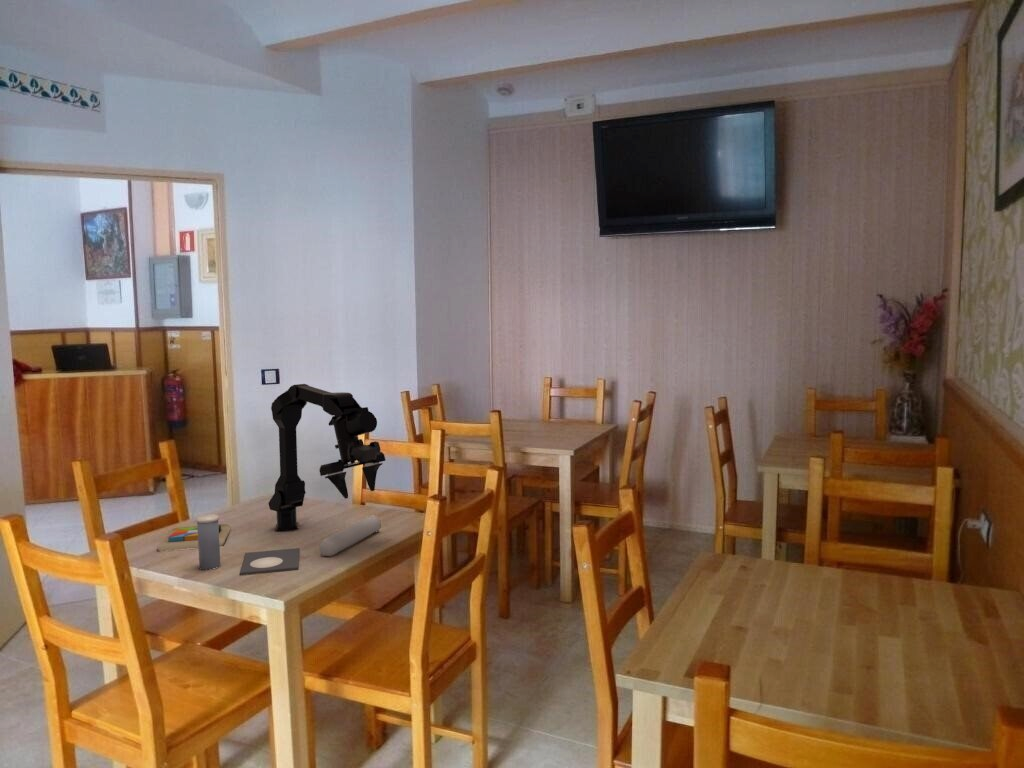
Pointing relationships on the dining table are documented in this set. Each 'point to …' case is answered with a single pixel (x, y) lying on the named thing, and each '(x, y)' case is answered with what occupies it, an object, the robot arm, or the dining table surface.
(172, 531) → the wooden puzzle
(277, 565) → the mat
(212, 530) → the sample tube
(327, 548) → the tube
